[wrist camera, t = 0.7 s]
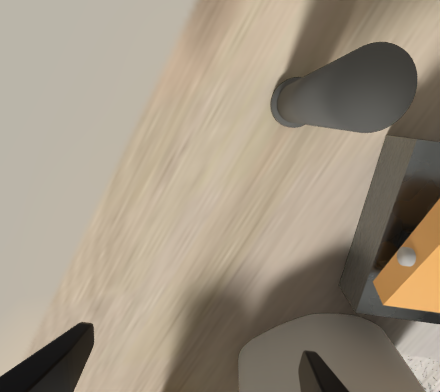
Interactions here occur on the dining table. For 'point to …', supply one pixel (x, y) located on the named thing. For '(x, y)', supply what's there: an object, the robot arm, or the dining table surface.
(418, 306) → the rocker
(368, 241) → the block
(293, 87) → the post
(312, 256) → the dining table surface
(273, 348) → the lumpy-topped squat cylinder
